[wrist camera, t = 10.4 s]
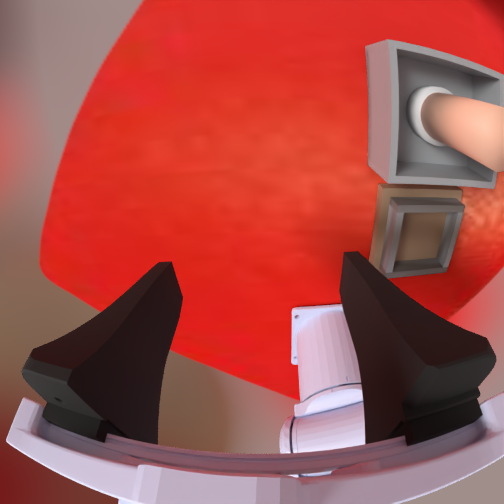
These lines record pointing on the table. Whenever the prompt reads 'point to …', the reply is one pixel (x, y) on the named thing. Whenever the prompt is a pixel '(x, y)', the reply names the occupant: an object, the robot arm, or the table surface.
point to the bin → (395, 120)
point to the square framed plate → (415, 228)
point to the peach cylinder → (458, 124)
